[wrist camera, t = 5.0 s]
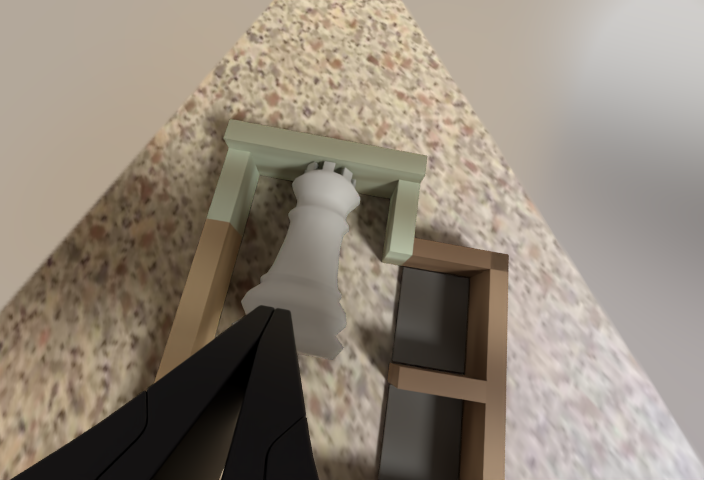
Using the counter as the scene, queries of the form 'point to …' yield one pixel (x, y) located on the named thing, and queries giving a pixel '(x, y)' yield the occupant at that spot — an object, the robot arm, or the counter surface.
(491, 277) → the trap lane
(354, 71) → the counter surface
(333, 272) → the rook chess piece
